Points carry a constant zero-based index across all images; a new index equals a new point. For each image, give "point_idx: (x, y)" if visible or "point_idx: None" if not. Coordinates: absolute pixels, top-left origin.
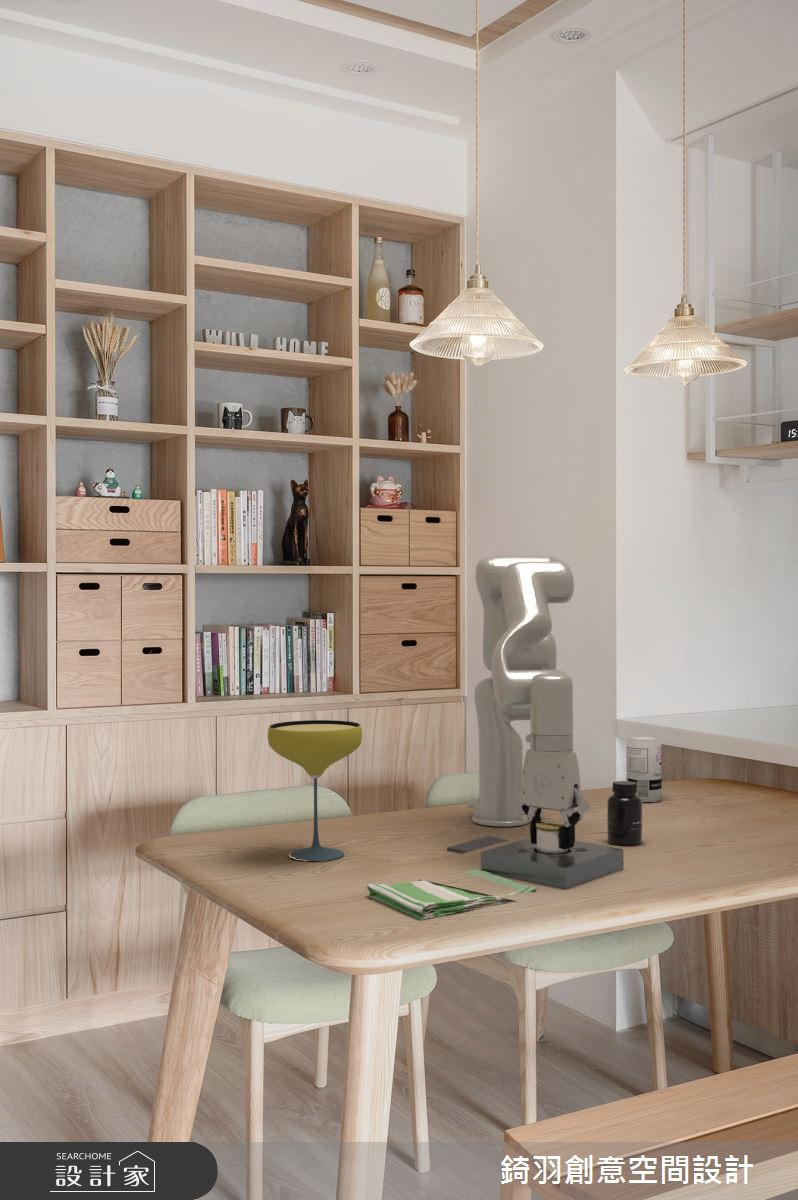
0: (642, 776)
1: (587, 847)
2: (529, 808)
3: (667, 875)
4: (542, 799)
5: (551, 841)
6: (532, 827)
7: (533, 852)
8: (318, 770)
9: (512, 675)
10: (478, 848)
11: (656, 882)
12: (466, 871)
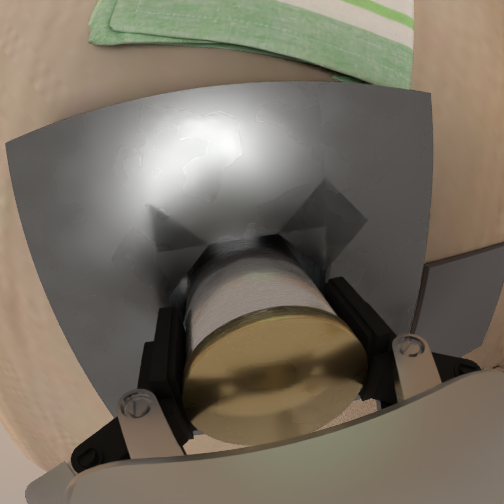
0: None
1: None
2: (440, 381)
3: (92, 423)
4: (350, 500)
5: (212, 296)
6: (365, 316)
7: (283, 227)
8: None
9: None
10: (479, 283)
11: (55, 383)
12: (410, 69)
